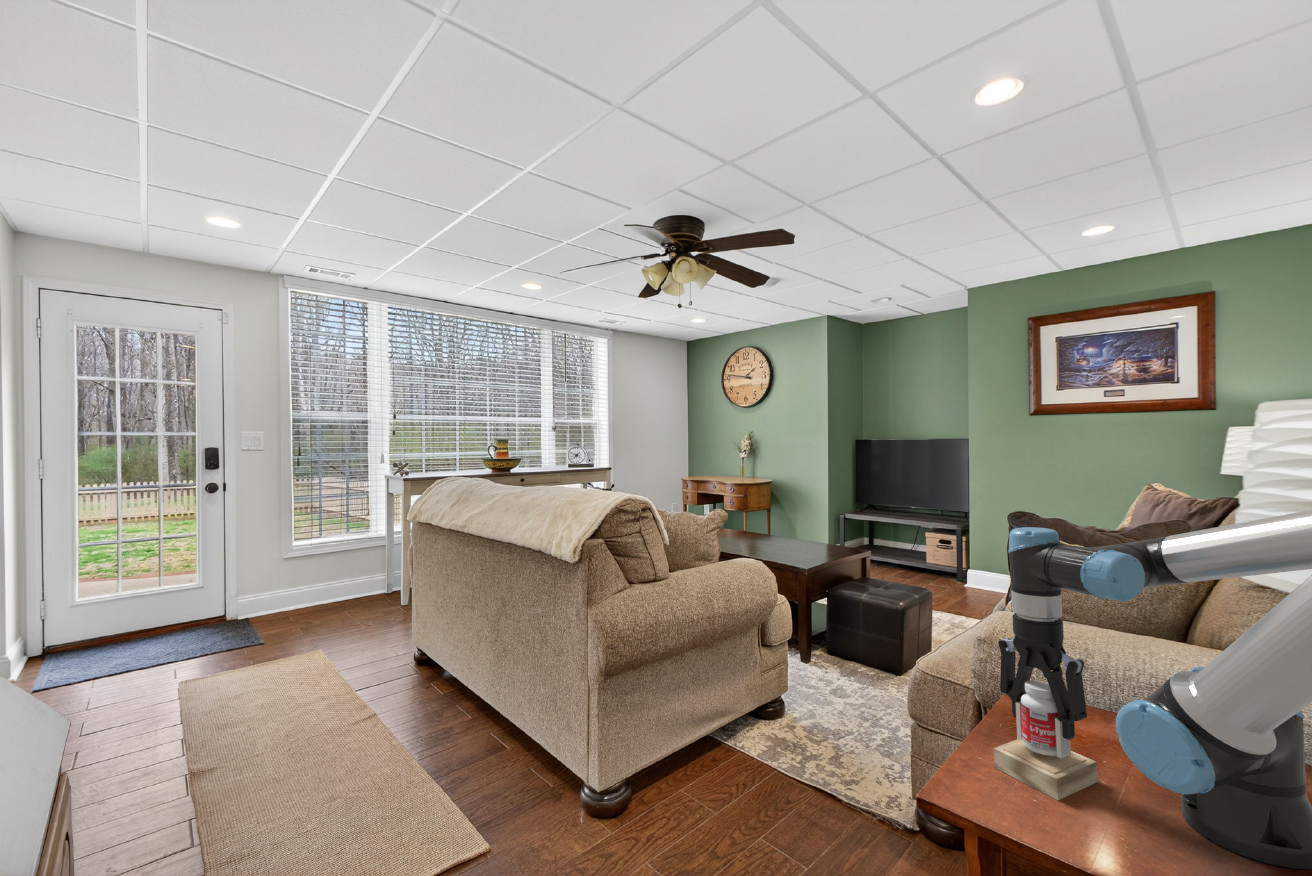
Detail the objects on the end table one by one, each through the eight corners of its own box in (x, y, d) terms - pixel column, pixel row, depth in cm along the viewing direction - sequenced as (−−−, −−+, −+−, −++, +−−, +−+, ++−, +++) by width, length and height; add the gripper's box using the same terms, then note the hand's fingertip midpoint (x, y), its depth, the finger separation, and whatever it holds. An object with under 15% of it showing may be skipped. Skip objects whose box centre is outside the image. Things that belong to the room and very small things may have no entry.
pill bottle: (1027, 754, 99) (1024, 690, 100) (1018, 737, 105) (1015, 676, 105) (1070, 759, 97) (1066, 694, 98) (1058, 742, 103) (1055, 680, 103)
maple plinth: (1097, 782, 99) (1096, 760, 99) (1058, 800, 94) (1056, 777, 94) (1032, 752, 109) (1031, 732, 109) (994, 767, 104) (993, 747, 104)
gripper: (1110, 626, 95) (1117, 767, 94) (999, 600, 112) (1005, 719, 112) (1083, 634, 91) (1090, 779, 91) (973, 605, 109) (979, 728, 108)
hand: (1043, 746), depth 101 cm, fingers closed on pill bottle, 6 cm apart
